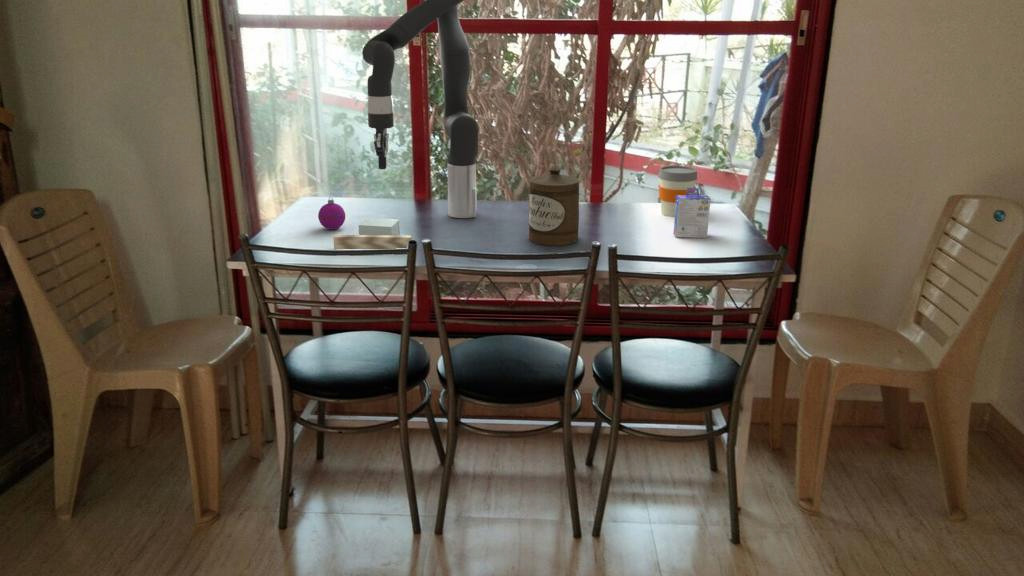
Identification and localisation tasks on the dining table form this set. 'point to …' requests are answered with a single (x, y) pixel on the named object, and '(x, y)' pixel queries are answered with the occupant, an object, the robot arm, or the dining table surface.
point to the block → (379, 227)
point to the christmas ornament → (331, 215)
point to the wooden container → (554, 208)
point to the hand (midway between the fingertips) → (382, 168)
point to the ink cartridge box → (691, 215)
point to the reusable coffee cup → (674, 186)
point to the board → (371, 241)
